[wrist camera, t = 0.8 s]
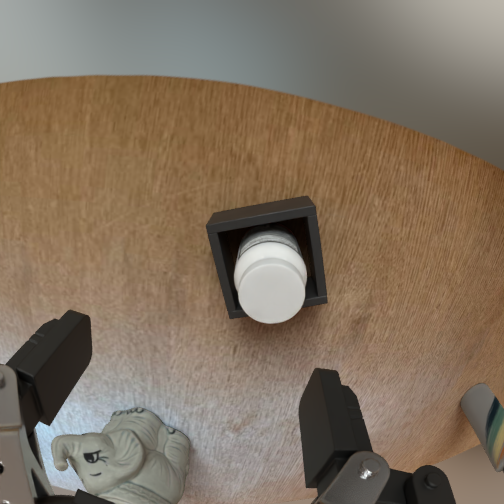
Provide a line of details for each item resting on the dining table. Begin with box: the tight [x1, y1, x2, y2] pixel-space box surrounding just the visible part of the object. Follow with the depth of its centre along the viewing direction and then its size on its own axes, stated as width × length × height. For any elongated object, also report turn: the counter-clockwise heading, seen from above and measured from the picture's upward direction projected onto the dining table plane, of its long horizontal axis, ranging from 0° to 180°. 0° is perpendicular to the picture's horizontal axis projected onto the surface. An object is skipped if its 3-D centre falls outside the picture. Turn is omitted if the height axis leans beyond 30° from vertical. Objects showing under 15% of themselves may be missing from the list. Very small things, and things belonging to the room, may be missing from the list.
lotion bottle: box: [460, 383, 504, 472], centre depth 29 cm, size 6×6×20 cm
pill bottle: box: [234, 222, 307, 324], centre depth 27 cm, size 6×6×10 cm
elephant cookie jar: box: [51, 408, 190, 504], centre depth 33 cm, size 16×15×19 cm
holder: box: [206, 196, 327, 319], centre depth 29 cm, size 9×9×4 cm
